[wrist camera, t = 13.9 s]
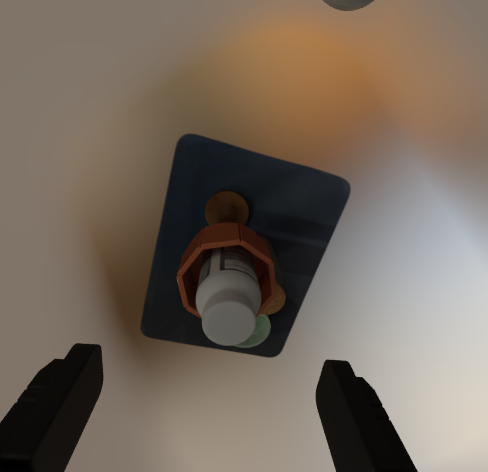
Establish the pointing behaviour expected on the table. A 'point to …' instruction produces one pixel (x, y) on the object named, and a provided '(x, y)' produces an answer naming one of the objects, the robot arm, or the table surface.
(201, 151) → the table surface
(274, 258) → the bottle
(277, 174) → the table surface
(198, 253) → the raised bowl
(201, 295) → the pill bottle
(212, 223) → the stand
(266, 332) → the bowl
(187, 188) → the table surface
